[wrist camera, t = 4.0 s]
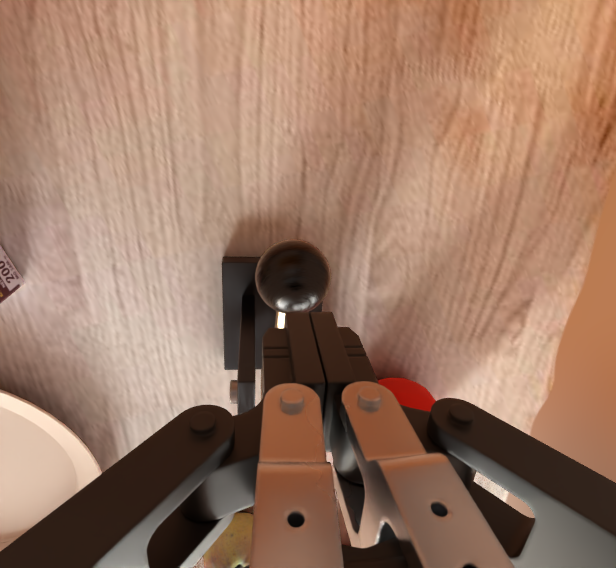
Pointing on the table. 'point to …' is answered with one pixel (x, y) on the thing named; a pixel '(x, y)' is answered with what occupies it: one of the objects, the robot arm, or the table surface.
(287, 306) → the switch lever
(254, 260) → the switch bracket
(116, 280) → the table surface
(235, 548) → the apple
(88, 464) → the plate
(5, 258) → the supplement box
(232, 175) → the table surface
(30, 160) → the table surface
